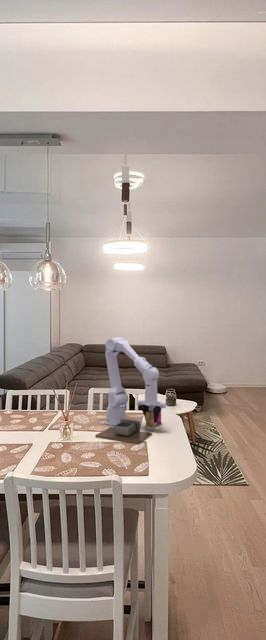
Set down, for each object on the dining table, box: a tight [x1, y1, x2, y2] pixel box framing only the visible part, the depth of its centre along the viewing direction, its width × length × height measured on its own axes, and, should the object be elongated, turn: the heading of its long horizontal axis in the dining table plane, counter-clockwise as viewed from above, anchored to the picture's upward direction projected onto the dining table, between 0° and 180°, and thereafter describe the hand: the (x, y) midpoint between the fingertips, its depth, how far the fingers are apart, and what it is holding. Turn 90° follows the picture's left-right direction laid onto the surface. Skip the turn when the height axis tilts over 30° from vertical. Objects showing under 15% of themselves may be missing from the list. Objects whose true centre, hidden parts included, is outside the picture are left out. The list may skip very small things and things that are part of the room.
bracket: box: [94, 418, 153, 445], centre depth 176 cm, size 22×14×6 cm, turn 62°
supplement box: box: [149, 401, 162, 427], centre depth 193 cm, size 6×6×12 cm
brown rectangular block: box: [145, 410, 158, 429], centre depth 183 cm, size 4×4×7 cm
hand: (151, 421), depth 183 cm, fingers closed on brown rectangular block, 4 cm apart
